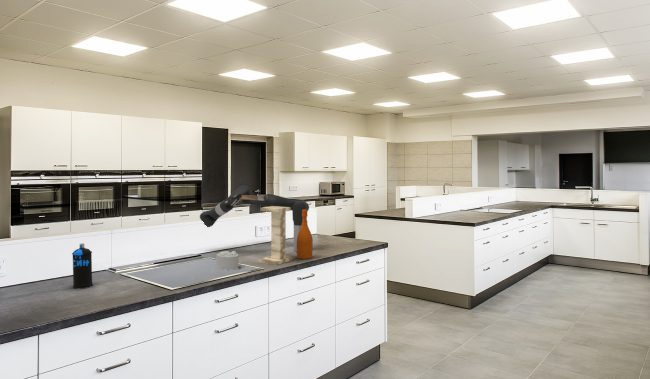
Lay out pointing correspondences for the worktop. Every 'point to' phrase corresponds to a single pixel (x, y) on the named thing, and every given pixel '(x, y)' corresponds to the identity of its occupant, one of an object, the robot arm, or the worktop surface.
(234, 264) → the lumpy-topped squat cylinder
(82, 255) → the aerosol can
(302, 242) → the wine bottle
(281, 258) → the stand
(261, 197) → the rod
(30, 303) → the worktop surface
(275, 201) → the robot arm
